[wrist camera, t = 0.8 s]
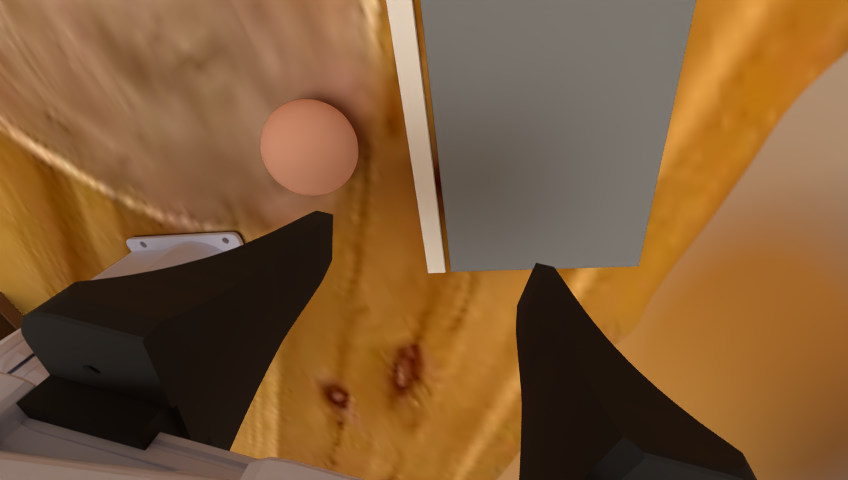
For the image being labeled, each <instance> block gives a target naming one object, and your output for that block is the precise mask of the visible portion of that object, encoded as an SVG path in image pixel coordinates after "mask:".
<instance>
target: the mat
mask: <svg viewBox="0 0 848 480" xmlns="http://www.w3.org/2000/svg"><path fill="white" fill-rule="evenodd" d="M420 1H421V10H422V19H423V28H424V37H425V45H426V54H427V63H428V72H429V81H430V89H431V98H432V107H433V116H434V125H435V134H436V142H437V151H438V160H439V169H440V178H441V186H442V195H443V204H444V213H445V222H446V231H447V239H448V248H449V257H450V266H451V272H455V271H490V270H525V269H533V268H534V266H535V264H536V263H540V264H544V265H548V266H552V267H554V268H555V269H560V268H595V267H630V266H639V262H640V257H641V252H642V248H643V243H644V238H645V234H646V229H647V225H648V220H649V215H650V211H651V206H652V202H653V197H654V192H655V188H656V183H657V178H658V174H659V169H660V165H661V160H662V155H663V151H664V146H665V142H666V137H667V132H668V128H669V123H670V119H671V114H672V109H673V105H674V100H675V95H676V91H677V86H678V82H679V77H680V72H681V68H682V63H683V59H684V54H685V49H686V45H687V40H688V35H689V31H690V26H691V22H692V17H693V12H694V8H695V3H696V0H420ZM386 2H387V8H388V14H389V21H390V27H391V34H392V40H393V47H394V53H395V60H396V66H397V73H398V79H399V86H400V92H401V99H402V105H403V112H404V118H405V125H406V131H407V138H408V144H409V151H410V157H411V164H412V170H413V177H414V183H415V190H416V196H417V203H418V209H419V216H420V222H421V229H422V235H423V241H424V248H425V254H426V261H427V267H428V273H445V271H446V265H445V257H444V249H443V241H442V232H441V224H440V216H439V208H438V200H437V191H436V183H435V175H434V167H433V159H432V150H431V142H430V134H429V126H428V118H427V109H426V101H425V93H424V85H423V77H422V69H421V60H420V52H419V44H418V36H417V28H416V19H415V11H414V3H413V0H386Z"/></svg>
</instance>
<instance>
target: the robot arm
mask: <svg viewBox="0 0 848 480" xmlns="http://www.w3.org/2000/svg"><path fill="white" fill-rule="evenodd" d="M332 236H333V215H332V214H328V213H324V212H320V211H315V212H312V213H310V214H308V215H306V216H304V217H302V218H300V219H298V220H296V221H294V222H292V223H290V224H288V225H286V226H284V227H282V228H279V229H277V230H275V231H273V232H271V233H269V234H267V235H264V236H262V237H260V238H257V239H255V240H253V241H251V242H248V243H246V244H243V242H242V239H241V237H240V236H239V235H238V234H237V233H235V232H219V233H201V234H182V235H164V236H145V237H131V238H129V239H128V240H127V241H126V244H127V246H128V247H129V249H130V250H131V253H129V254H128V255H126V256H125V257H123V258H122V259H120V260H119V261H117V262H116V263H114V264H113V265H112V266H110V267H109V268H107V269H106V270H104V271H103V272H101V273H100V274H98V275H97V276H95V277H94V278H92V279H91V280H89V281H80V282H75V283H73V284H72V285H70V286H69V287H67V288H66V289H64V290H63V291H61V292H60V293H58V294H57V295H55V296H54V297H52V298H51V299H49V300H48V301H46V302H45V303H43V304H42V305H40V306H39V307H37V308H36V309H34V310H33V311H31V312H30V313H28V314H27V315H25V316H24V317H23V319H22V321H21V328H20V329H18V330H16V331H15V332H13V333H12V334H10V335H8V336H7V337H5V338H4V339H2V340H1V341H0V480H363V479H360V478H356V477H352V476H349V475H345V474H342V473H338V472H334V471H331V470H327V469H323V468H320V467H316V466H313V465H309V464H305V463H302V462H298V461H294V460H289V459H282V458H276V457H268V458H263V459H256V458H252V457H248V456H245V455H241V454H238V453H234V452H230V448H231V446H232V444H233V442H234V439H235V437H236V435H237V433H238V430H239V428H240V426H241V423H242V421H243V419H244V417H245V415H246V413H247V411H248V409H249V406H250V404H251V402H252V400H253V398H254V396H255V394H256V392H257V390H258V388H259V386H260V384H261V382H262V380H263V378H264V376H265V374H266V372H267V370H268V368H269V366H270V364H271V362H272V360H273V358H274V356H275V354H276V352H277V350H278V349H279V347H280V345H281V343H282V341H283V340H284V338H285V336H286V335H287V333H288V331H289V330H290V328H291V327H292V325H293V324H294V322H295V321H296V319H297V318H298V317H299V315H300V314H301V312H302V311H303V309H304V308H305V306H306V305H307V303H308V302H309V300H310V299H311V297H312V296H313V294H314V293H315V291H316V290H317V288H318V287H319V285H320V284H321V282H322V280H323V278H324V276H325V274H326V272H327V270H328V268H329V266H330V263H331V261H332ZM226 238H227V239H228V240H229V241H228V240H227V239H226ZM516 338H517V350H518V361H519V372H520V382H521V397H522V422H521V455H520V475H519V480H757V479H756V477H755V475H754V473H753V471H752V469H751V468H750V466H749V464H748V462H747V460H746V458H745V457H744V455H743V453H742V452H740V451H739V450H737V449H736V448H735V447H733V446H732V445H731V444H729V443H728V442H726V441H725V440H724V439H722V438H721V437H719V436H718V435H717V434H715V433H714V432H712V431H711V430H709V429H708V428H707V427H705V426H704V425H703V424H701V423H700V422H698V421H697V420H696V419H694V418H693V417H692V416H691V415H689V414H688V413H687V412H686V411H684V410H683V409H682V408H681V407H679V406H678V405H677V404H675V403H674V402H673V401H672V400H671V399H670V398H668V397H667V396H666V395H665V394H663V393H662V392H661V391H660V390H659V389H657V387H655V386H654V385H653V384H652V383H651V382H650V381H649V380H648V379H647V378H646V377H644V376H643V375H642V374H641V373H640V372H639V371H638V370H637V369H636V368H635V367H634V366H633V365H632V364H631V363H630V362H628V360H627V359H626V358H625V357H624V356H623V355H622V354H621V353H620V352H619V351H618V350H617V349H616V348H615V347H614V345H613V344H612V343H611V342H610V341H609V340H608V339H607V338H606V336H605V335H604V334H603V333H602V332H601V330H600V329H599V328H598V327H597V326H596V324H595V323H594V322H593V321H592V319H591V318H590V317H589V316H588V314H587V313H586V312H585V310H584V309H583V308H582V306H581V305H580V303H579V302H578V301H577V299H576V298H575V296H574V295H573V294H572V292H571V291H570V289H569V288H568V286H567V285H566V283H565V282H564V281H563V279H562V278H561V276H560V275H559V273H558V272H557V270H556V269H555V268H554V267H552V266H548V265H544V264H540V263H536V264H535V266H534V268H533V270H532V273H531V275H530V277H529V280H528V282H527V284H526V286H525V289H524V291H523V293H522V296H521V298H520V300H519V302H518V305H517V318H516Z"/></svg>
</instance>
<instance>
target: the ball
mask: <svg viewBox="0 0 848 480" xmlns="http://www.w3.org/2000/svg"><path fill="white" fill-rule="evenodd" d="M260 149H261V155H262V158H263V161H264V163H265V166H266V168H267V169H268V171H269V173H270V174H271V175H272V176H273V178H274V179H275V180H276V181H277V182H278V183H280V184H281V185H282V186H284V187H285V188H287V189H289V190H291V191H293V192H296V193H298V194H302V195H309V196H317V195H323V194H327V193H330V192H332V191H335V190H336V189H338V188H340V187H341V186H342V185H343V184H344V183H346V182H347V180H348V179H349V178H350V177H351V175H352V173H353V172H354V170H355V167H356V164H357V160H358V142H357V137H356V134H355V132H354V129H353V128H352V126H351V124H350V123H349V121H348V120H347V118H346V117H345V116H344V115H343V114H342V113H341V112H339V111H338V110H337V109H335V108H334V107H332V106H331V105H329V104H327V103H324V102H321V101H318V100H312V99H299V100H294V101H291V102H288V103H285V104H284V105H282V106H280V107H279V108H277V109H276V110H275V111H274V112H273V113H272V114H271V115H270V116H269V118H268V119H267V121H266V122H265V125H264V127H263V130H262V133H261V140H260Z"/></svg>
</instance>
